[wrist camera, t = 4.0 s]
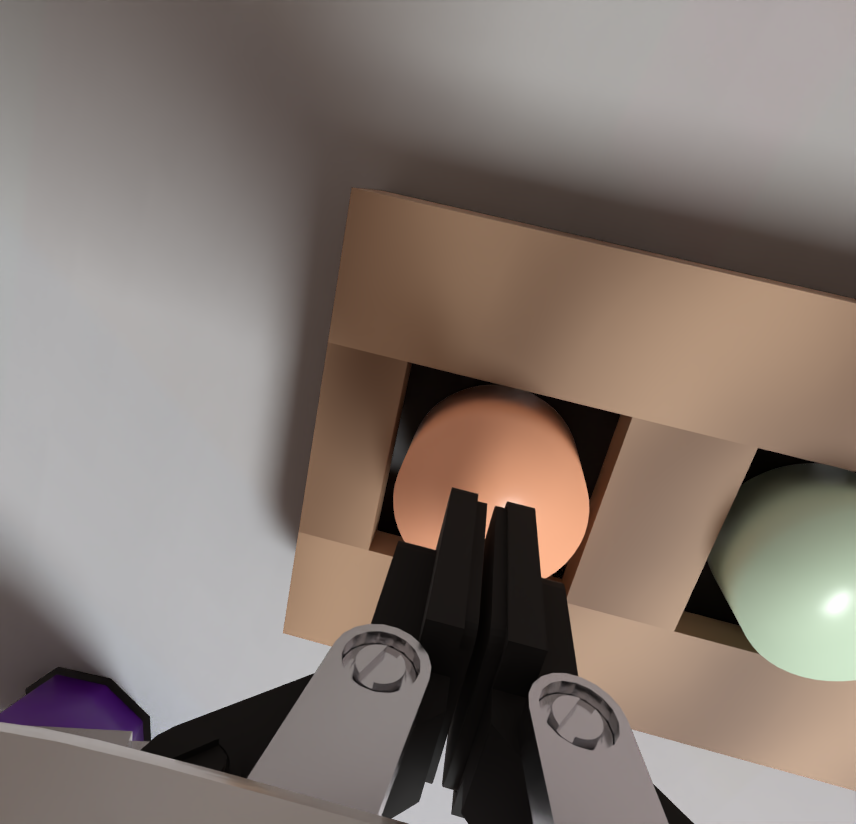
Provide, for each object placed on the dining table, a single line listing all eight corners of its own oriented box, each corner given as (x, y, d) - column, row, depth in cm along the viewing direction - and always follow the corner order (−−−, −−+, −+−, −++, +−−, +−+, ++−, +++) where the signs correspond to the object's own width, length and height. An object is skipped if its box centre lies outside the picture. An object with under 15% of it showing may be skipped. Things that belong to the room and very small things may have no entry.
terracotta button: (600, 408, 15) (616, 445, 12) (550, 554, 16) (556, 611, 14) (429, 366, 15) (414, 395, 13) (396, 514, 16) (377, 563, 14)
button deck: (1414, 427, 14) (1645, 485, 11) (1098, 780, 18) (1206, 887, 15) (381, 190, 15) (351, 187, 12) (316, 570, 19) (283, 632, 17)
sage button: (927, 488, 14) (1005, 542, 12) (844, 631, 16) (898, 702, 13) (745, 443, 14) (788, 488, 12) (680, 588, 16) (708, 651, 14)
